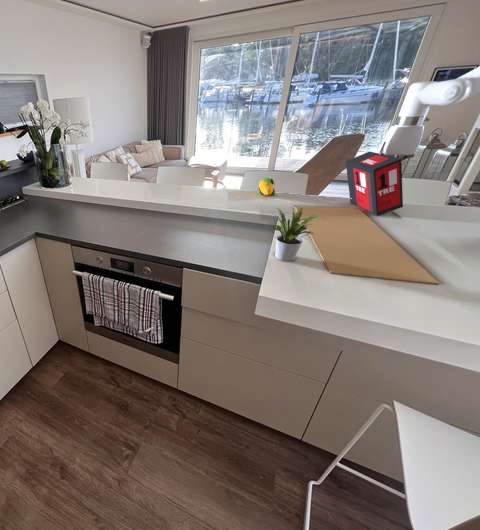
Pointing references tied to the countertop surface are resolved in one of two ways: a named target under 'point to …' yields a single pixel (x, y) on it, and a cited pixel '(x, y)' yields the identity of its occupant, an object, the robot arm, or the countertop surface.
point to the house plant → (291, 235)
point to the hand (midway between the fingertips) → (388, 173)
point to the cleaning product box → (375, 182)
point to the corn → (267, 187)
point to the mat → (360, 246)
